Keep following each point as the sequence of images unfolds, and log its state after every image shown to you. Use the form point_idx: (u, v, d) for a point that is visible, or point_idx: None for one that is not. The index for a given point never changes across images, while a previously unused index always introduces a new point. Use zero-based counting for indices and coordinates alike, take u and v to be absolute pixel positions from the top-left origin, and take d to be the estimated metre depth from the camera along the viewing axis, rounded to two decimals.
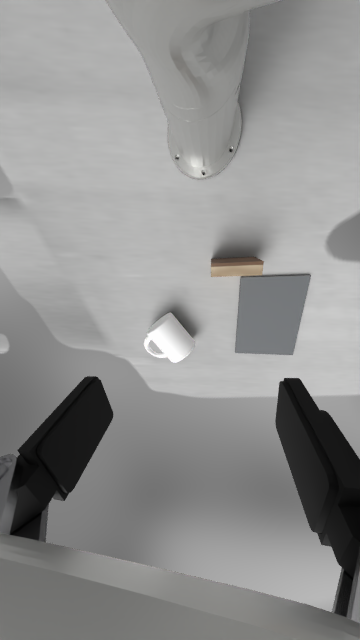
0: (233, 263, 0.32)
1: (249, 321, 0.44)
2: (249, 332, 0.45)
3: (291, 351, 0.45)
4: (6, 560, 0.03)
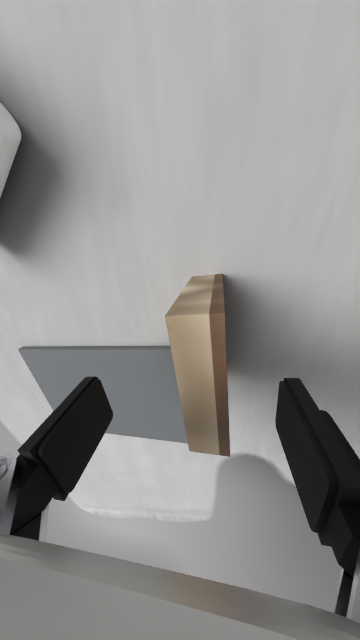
0: (224, 390, 0.09)
1: (91, 369, 0.21)
2: (70, 370, 0.21)
3: None
4: (6, 560, 0.03)
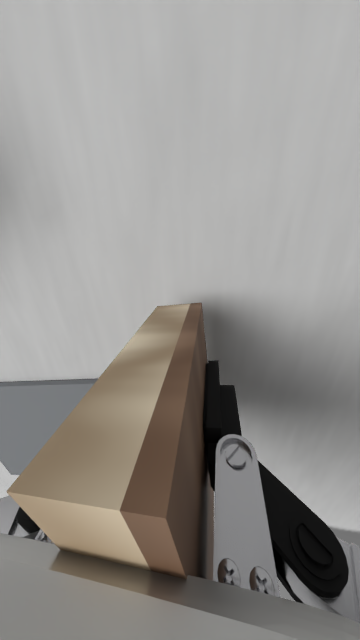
0: None
1: (37, 408, 0.17)
2: (11, 410, 0.18)
3: (16, 472, 0.23)
4: (6, 560, 0.03)
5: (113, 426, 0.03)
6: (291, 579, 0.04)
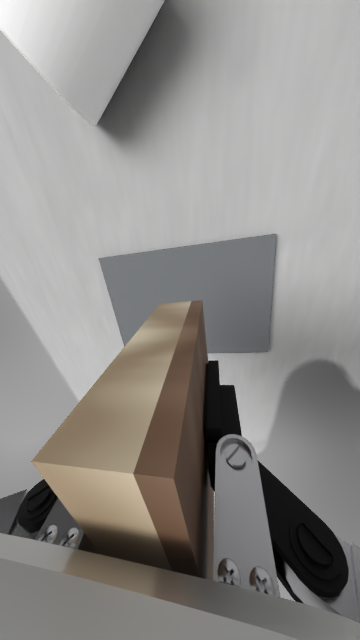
0: None
1: (175, 273, 0.21)
2: (151, 278, 0.22)
3: None
4: (6, 560, 0.03)
5: (123, 408, 0.04)
6: (291, 579, 0.04)
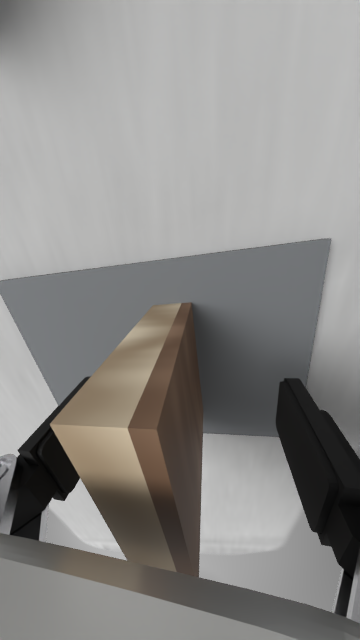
0: (176, 525, 0.05)
1: (131, 310, 0.12)
2: (91, 317, 0.12)
3: None
4: (6, 560, 0.03)
5: (120, 387, 0.05)
6: None
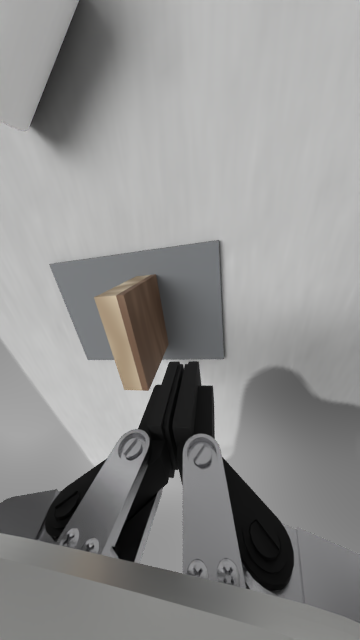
0: (134, 342, 0.14)
1: (124, 279, 0.21)
2: (102, 284, 0.22)
3: (92, 357, 0.27)
4: (6, 560, 0.03)
5: (114, 292, 0.14)
6: (244, 573, 0.04)
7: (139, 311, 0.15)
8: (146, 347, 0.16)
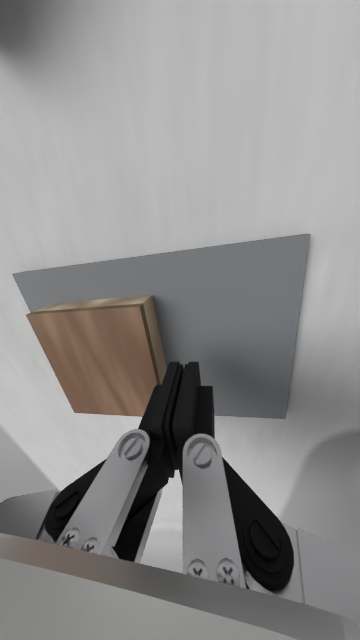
0: None
1: None
2: None
3: None
4: (6, 560, 0.03)
5: (54, 307, 0.13)
6: (244, 573, 0.04)
7: (61, 340, 0.12)
8: (75, 379, 0.14)
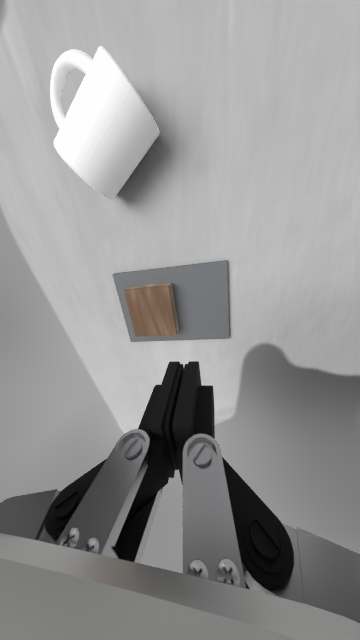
0: None
1: None
2: None
3: (135, 339, 0.37)
4: (6, 560, 0.03)
5: (132, 287, 0.32)
6: (244, 573, 0.04)
7: (136, 300, 0.31)
8: (139, 318, 0.33)
